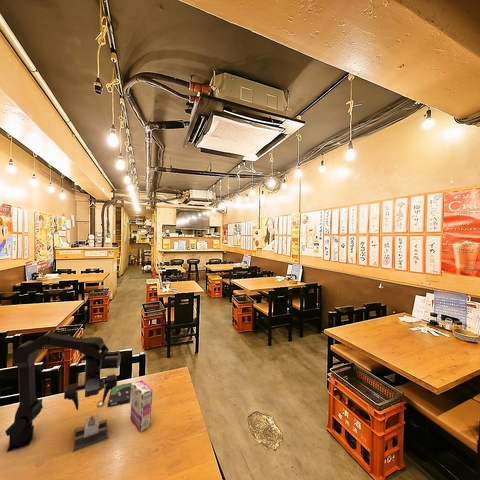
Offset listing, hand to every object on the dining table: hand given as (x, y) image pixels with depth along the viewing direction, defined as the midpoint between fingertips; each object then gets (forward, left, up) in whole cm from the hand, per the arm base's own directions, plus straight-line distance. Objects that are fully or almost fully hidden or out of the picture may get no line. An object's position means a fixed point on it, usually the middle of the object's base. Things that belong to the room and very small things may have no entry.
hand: (90, 405), depth 98 cm
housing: (+1, -1, -9) cm, 9 cm away
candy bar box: (+20, -4, -12) cm, 24 cm away
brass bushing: (+5, +18, -12) cm, 22 cm away
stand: (+1, -1, -12) cm, 12 cm away
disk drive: (+14, +20, -13) cm, 28 cm away
